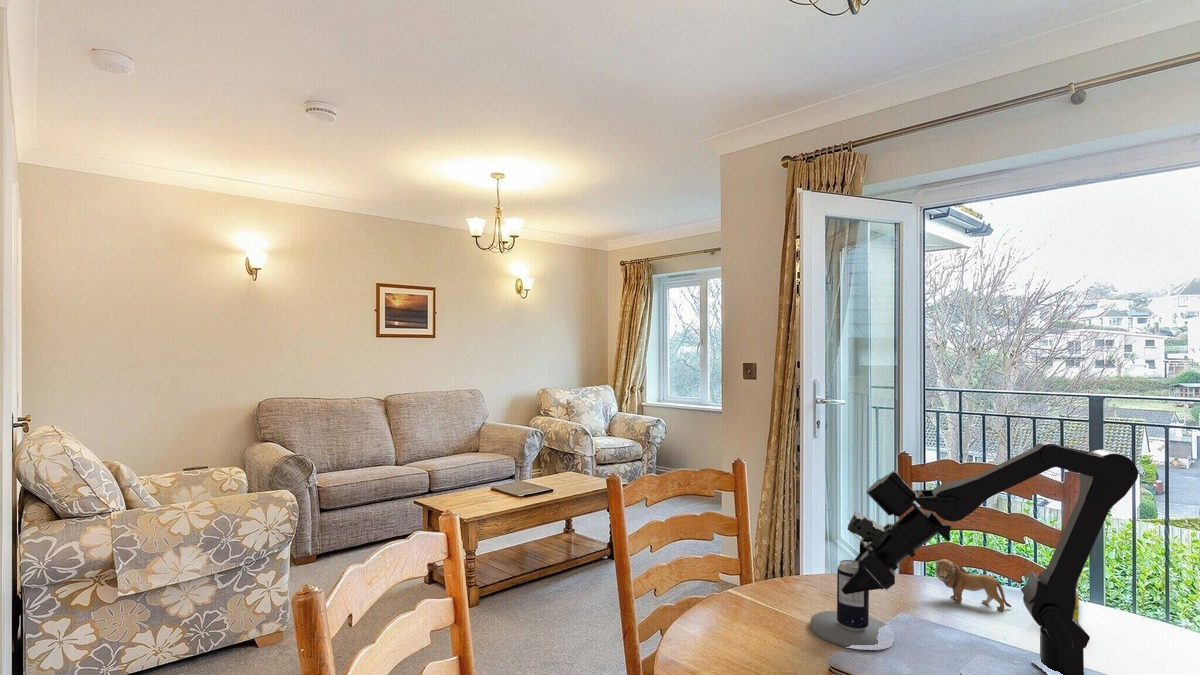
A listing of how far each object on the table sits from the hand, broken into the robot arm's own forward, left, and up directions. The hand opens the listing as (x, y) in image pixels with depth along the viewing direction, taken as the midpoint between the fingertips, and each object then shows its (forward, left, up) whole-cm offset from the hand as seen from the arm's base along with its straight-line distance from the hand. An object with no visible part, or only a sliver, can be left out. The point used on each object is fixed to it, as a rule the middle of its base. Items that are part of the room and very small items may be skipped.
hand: (844, 584), depth 119 cm
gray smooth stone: (0, -1, -9) cm, 9 cm away
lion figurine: (+20, -33, -9) cm, 39 cm away
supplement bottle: (+12, -47, -9) cm, 49 cm away
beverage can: (-1, -1, -8) cm, 8 cm away
